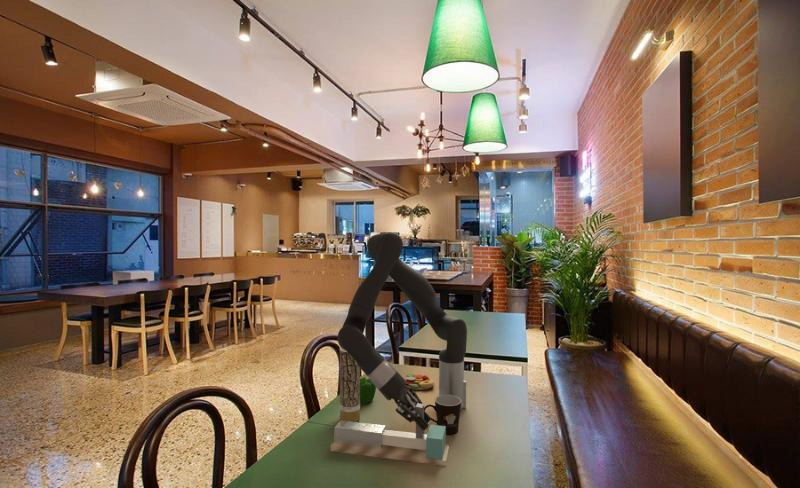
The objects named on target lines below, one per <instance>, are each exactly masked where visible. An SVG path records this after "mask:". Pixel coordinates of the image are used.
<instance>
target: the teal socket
mask: <svg viewBox="0 0 800 488" xmlns="http://www.w3.org/2000/svg"><path fill="white" fill-rule="evenodd" d="M428 428H429V429H428V431H427V437H426V458H431V459H439V460H443V455H444V451H445V446H446V445H447V440H446V439H447V438H446V436H447V435H446V426H438V425H437V424H429V427H428Z"/></svg>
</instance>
